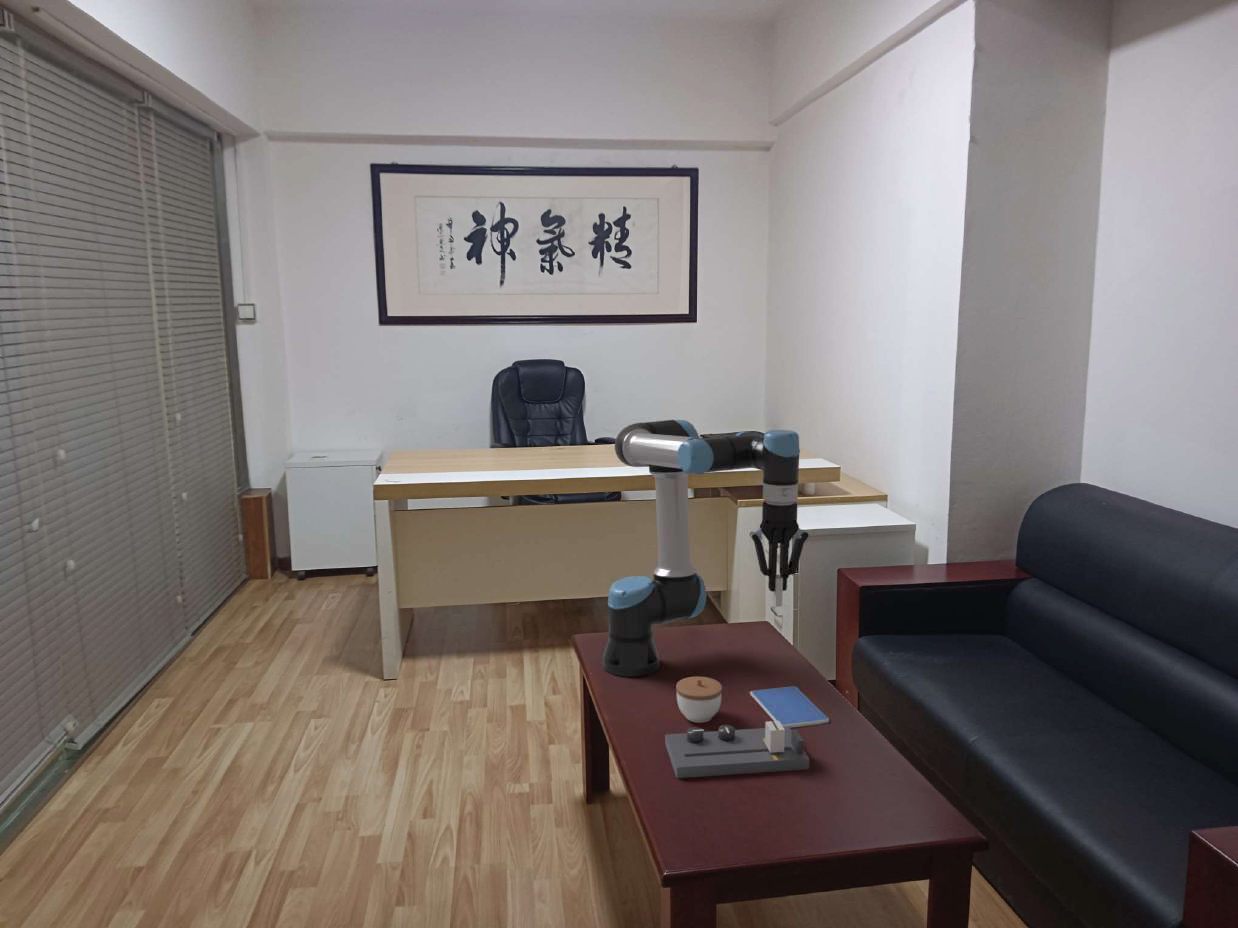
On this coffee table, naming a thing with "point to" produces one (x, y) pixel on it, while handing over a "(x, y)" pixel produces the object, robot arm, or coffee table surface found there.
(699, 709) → the lidded jar
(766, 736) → the fader tab
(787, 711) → the tablet computer
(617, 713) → the coffee table surface
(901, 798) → the coffee table surface
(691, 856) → the coffee table surface
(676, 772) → the console
